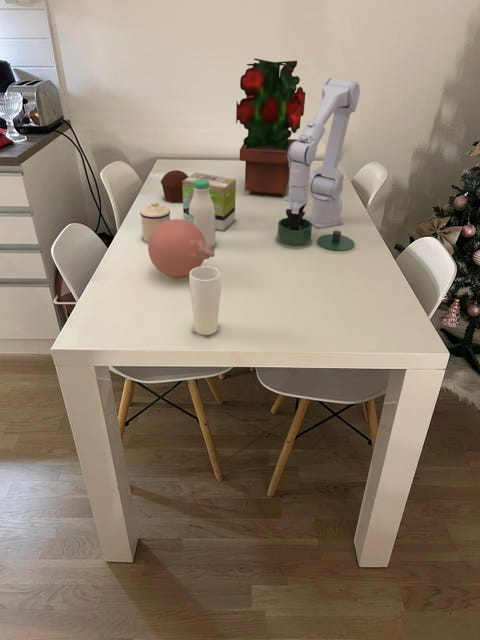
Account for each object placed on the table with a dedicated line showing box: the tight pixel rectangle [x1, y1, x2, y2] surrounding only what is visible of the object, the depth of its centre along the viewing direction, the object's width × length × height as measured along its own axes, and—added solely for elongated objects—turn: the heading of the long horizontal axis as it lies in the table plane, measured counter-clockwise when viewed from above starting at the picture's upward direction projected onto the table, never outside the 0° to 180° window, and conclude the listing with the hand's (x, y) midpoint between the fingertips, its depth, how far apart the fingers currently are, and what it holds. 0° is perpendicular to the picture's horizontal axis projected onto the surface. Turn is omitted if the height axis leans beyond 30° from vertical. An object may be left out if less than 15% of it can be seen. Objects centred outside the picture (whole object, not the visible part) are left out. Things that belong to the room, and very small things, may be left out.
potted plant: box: [235, 58, 306, 198], centre depth 180 cm, size 22×22×45 cm
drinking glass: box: [188, 265, 222, 336], centre depth 110 cm, size 7×7×15 cm
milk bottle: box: [189, 179, 216, 248], centre depth 145 cm, size 8×8×20 cm
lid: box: [316, 230, 355, 252], centre depth 152 cm, size 11×11×4 cm
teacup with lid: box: [139, 201, 171, 243], centre depth 152 cm, size 12×9×12 cm
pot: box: [276, 217, 313, 248], centre depth 153 cm, size 10×10×6 cm
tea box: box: [182, 172, 237, 232], centre depth 162 cm, size 15×10×15 cm
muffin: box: [160, 170, 189, 204], centre depth 181 cm, size 12×11×10 cm
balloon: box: [147, 218, 215, 278], centre depth 130 cm, size 15×20×15 cm
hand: (295, 227), depth 152 cm, fingers open, 7 cm apart
